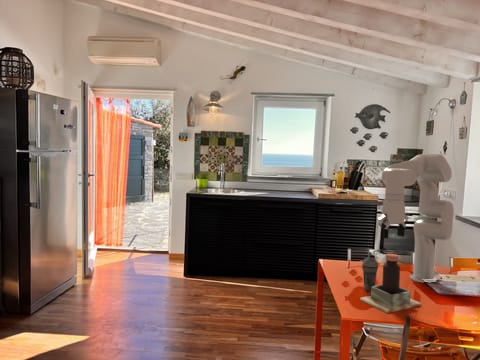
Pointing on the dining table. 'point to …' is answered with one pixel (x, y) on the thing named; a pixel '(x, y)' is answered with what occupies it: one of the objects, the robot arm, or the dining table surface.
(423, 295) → the dining table surface
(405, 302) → the bottle caddy
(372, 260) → the beverage cup
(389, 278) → the vinegar
